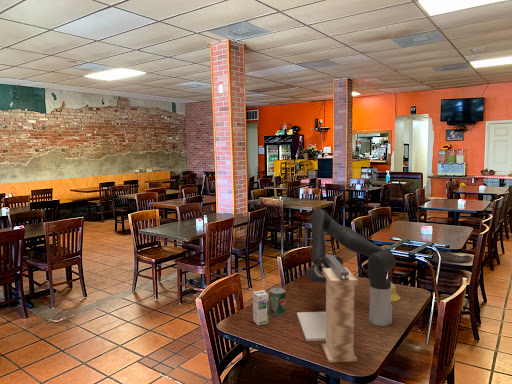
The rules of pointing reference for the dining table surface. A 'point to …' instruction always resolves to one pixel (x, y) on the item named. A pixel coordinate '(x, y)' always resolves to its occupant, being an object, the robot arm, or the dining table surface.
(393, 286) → the handbell
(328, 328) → the birch stand
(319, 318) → the off-white board
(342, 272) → the dark grey block
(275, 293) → the canned tomato
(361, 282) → the dining table surface
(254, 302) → the syrup box
